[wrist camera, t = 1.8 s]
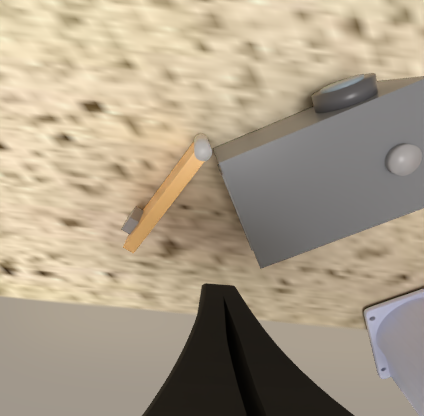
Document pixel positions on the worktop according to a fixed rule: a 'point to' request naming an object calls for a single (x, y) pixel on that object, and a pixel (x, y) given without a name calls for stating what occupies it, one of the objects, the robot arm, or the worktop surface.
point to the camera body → (329, 167)
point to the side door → (166, 193)
